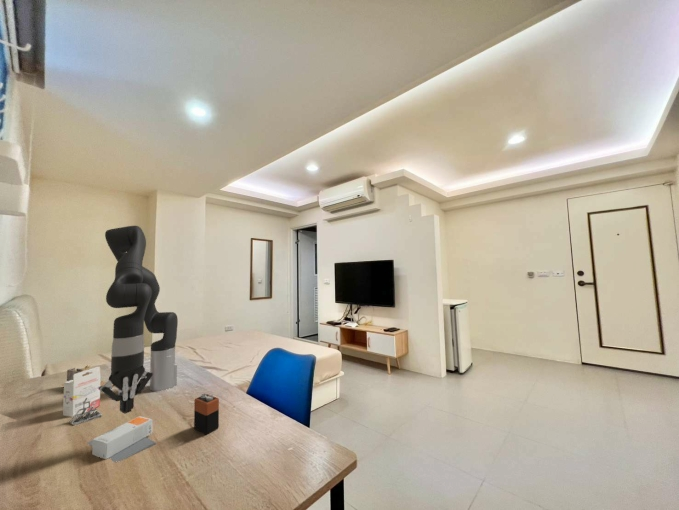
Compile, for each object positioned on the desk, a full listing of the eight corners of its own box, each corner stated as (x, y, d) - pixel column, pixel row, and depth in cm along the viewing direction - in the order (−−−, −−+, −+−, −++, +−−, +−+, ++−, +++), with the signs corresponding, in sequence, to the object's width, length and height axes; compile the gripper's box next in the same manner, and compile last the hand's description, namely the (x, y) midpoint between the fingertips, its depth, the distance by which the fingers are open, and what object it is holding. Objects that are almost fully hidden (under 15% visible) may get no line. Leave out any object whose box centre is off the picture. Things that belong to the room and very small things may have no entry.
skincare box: (153, 418, 79) (106, 443, 68) (153, 433, 79) (105, 460, 67) (139, 415, 81) (91, 439, 70) (139, 429, 81) (91, 455, 70)
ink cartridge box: (90, 404, 99) (92, 364, 100) (100, 406, 98) (101, 365, 99) (61, 416, 91) (63, 373, 92) (71, 418, 89) (73, 374, 90)
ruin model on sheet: (116, 384, 119) (117, 362, 119) (68, 401, 103) (69, 375, 104) (84, 377, 128) (85, 357, 129) (36, 391, 113) (37, 368, 113)
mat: (124, 428, 83) (125, 426, 83) (155, 444, 74) (155, 442, 74) (68, 453, 71) (68, 451, 72) (96, 476, 63) (96, 473, 63)
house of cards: (100, 409, 96) (101, 387, 97) (108, 416, 91) (109, 393, 92) (65, 420, 89) (67, 397, 89) (71, 429, 84) (73, 404, 84)
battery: (206, 435, 78) (206, 400, 79) (193, 429, 81) (193, 395, 82) (219, 428, 82) (219, 395, 82) (206, 422, 85) (207, 390, 86)
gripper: (146, 344, 85) (145, 399, 84) (93, 356, 73) (91, 420, 72) (159, 346, 81) (158, 404, 80) (105, 359, 70) (103, 427, 69)
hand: (126, 412), depth 76 cm, fingers closed
